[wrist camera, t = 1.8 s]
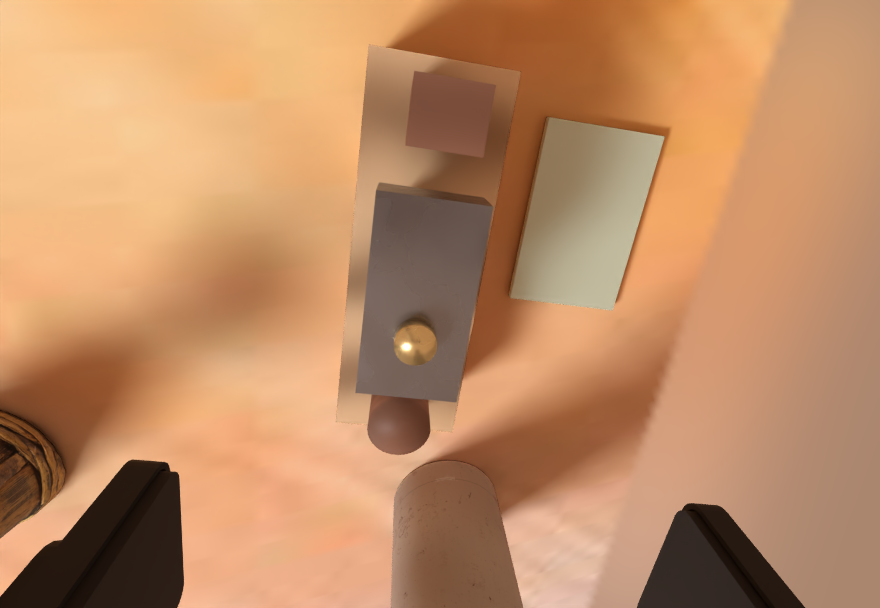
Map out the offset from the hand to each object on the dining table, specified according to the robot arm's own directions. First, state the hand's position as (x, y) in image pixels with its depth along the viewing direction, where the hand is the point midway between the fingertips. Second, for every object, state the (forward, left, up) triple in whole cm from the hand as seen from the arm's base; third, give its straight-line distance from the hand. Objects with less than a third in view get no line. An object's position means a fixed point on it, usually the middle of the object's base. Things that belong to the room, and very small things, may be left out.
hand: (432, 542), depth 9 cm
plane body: (0, 0, -22) cm, 22 cm away
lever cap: (0, 0, -14) cm, 14 cm away
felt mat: (-3, +10, -22) cm, 25 cm away
